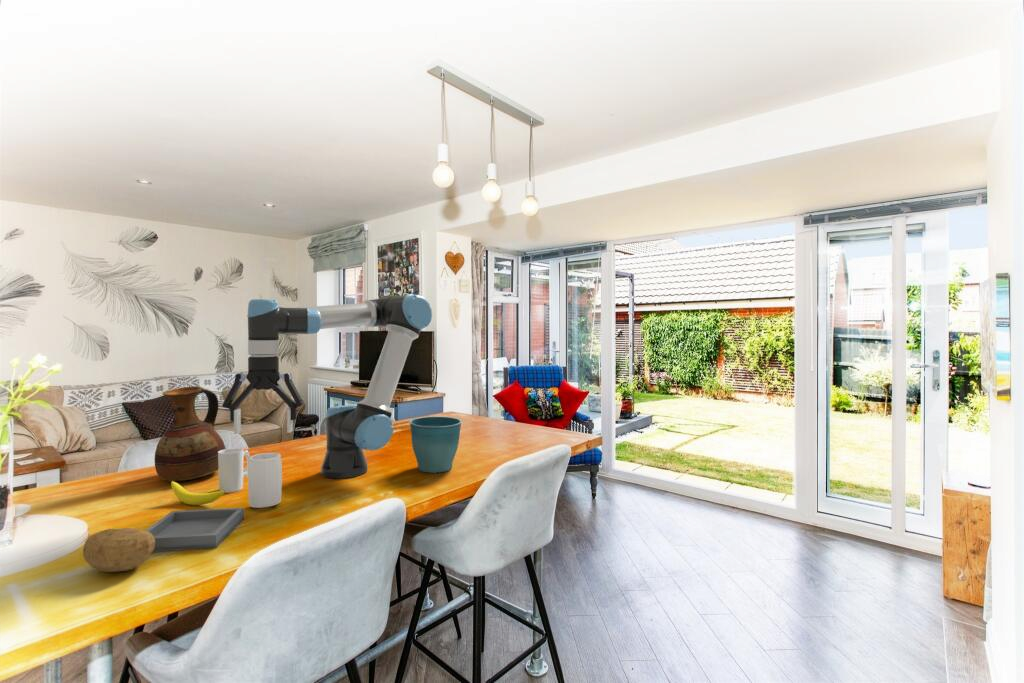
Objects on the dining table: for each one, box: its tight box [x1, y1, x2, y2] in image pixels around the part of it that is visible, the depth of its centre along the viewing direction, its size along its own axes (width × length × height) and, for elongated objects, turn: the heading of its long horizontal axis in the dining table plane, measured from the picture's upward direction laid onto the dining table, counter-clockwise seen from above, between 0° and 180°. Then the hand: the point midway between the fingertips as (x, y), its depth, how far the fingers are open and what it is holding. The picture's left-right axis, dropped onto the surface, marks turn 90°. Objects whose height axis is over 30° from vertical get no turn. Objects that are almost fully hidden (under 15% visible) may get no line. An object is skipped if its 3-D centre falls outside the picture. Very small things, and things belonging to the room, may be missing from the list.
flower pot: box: [409, 416, 462, 474], centre depth 175 cm, size 18×18×17 cm
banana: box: [169, 480, 226, 506], centre depth 138 cm, size 3×19×6 cm, turn 75°
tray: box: [144, 507, 245, 553], centre depth 119 cm, size 17×17×3 cm
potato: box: [82, 527, 155, 573], centre depth 102 cm, size 10×14×8 cm
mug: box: [218, 447, 251, 494], centre depth 152 cm, size 10×7×12 cm, turn 155°
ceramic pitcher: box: [154, 385, 227, 482], centre depth 164 cm, size 20×20×30 cm
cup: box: [247, 452, 283, 509], centre depth 137 cm, size 8×8×14 cm
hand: (264, 432), depth 137 cm, fingers open, 13 cm apart
